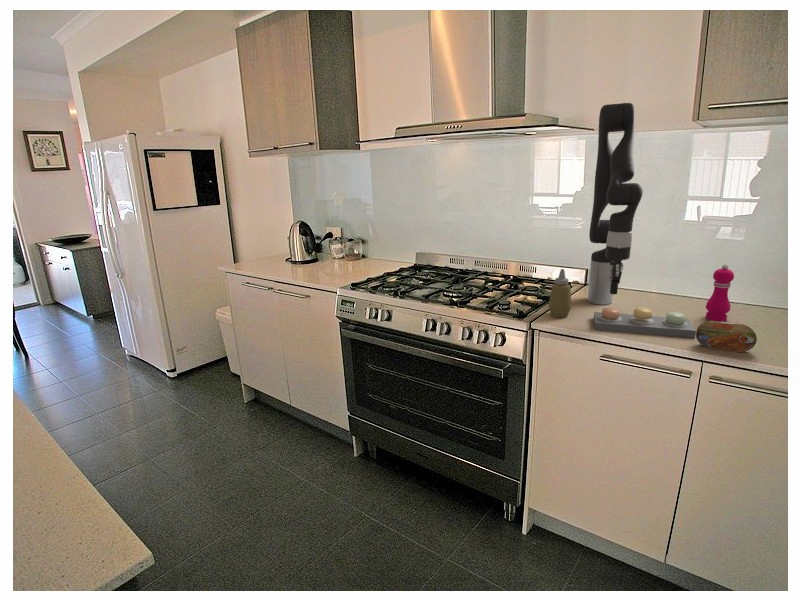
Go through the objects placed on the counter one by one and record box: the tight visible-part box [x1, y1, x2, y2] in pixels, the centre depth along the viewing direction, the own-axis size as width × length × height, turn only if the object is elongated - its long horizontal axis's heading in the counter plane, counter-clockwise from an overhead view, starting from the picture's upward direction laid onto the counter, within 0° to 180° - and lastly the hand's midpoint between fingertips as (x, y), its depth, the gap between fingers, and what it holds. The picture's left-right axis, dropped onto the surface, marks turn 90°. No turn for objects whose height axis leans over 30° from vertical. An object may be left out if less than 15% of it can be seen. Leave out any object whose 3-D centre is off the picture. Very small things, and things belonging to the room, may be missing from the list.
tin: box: [695, 320, 758, 353], centre depth 139 cm, size 15×3×8 cm, turn 59°
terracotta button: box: [601, 307, 621, 319], centre depth 161 cm, size 6×6×2 cm
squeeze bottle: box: [548, 268, 572, 319], centre depth 171 cm, size 8×8×18 cm
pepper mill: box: [705, 264, 735, 322], centre depth 162 cm, size 7×7×20 cm
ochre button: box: [632, 306, 653, 319], centre depth 158 cm, size 6×6×2 cm
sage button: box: [665, 311, 687, 324], centre depth 155 cm, size 6×6×2 cm
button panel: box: [593, 311, 697, 339], centre depth 159 cm, size 12×30×3 cm, turn 70°
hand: (613, 293), depth 159 cm, fingers closed
